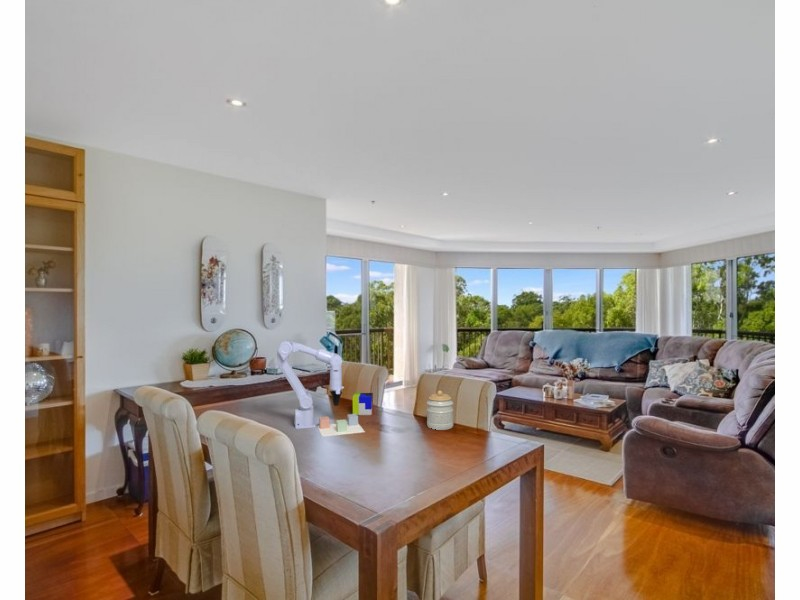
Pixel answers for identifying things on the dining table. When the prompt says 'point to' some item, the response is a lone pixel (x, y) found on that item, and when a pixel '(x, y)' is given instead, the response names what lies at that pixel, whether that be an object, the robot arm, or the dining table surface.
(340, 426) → the sage block
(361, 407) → the puzzle toy
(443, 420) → the jar
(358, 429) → the mat
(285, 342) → the robot arm
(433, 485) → the dining table surface
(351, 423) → the slate block
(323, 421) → the terracotta block
